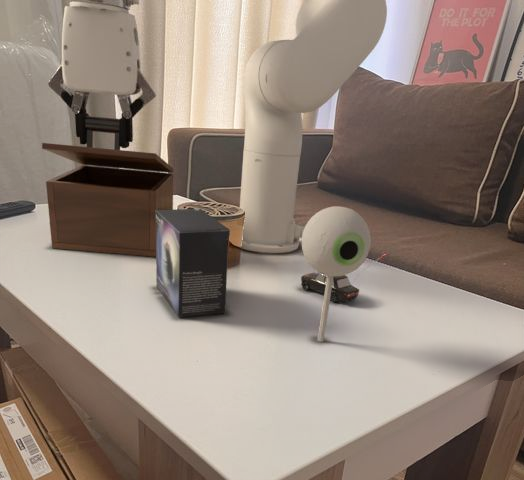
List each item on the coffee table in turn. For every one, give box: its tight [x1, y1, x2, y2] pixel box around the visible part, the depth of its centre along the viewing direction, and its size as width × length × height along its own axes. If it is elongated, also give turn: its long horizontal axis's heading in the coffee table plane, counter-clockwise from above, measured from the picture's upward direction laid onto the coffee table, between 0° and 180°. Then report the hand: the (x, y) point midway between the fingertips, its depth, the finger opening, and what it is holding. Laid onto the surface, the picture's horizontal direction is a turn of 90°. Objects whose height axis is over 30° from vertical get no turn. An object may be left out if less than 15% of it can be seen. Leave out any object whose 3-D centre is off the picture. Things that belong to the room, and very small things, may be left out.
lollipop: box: [301, 205, 372, 343], centre depth 56 cm, size 7×7×15 cm
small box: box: [155, 208, 231, 318], centre depth 64 cm, size 11×6×10 cm, turn 25°
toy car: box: [300, 253, 387, 303], centre depth 71 cm, size 4×12×8 cm, turn 43°
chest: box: [45, 164, 174, 258], centre depth 87 cm, size 18×16×10 cm
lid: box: [41, 115, 174, 174], centre depth 83 cm, size 19×16×5 cm
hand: (105, 143), depth 77 cm, fingers closed on lid, 5 cm apart
